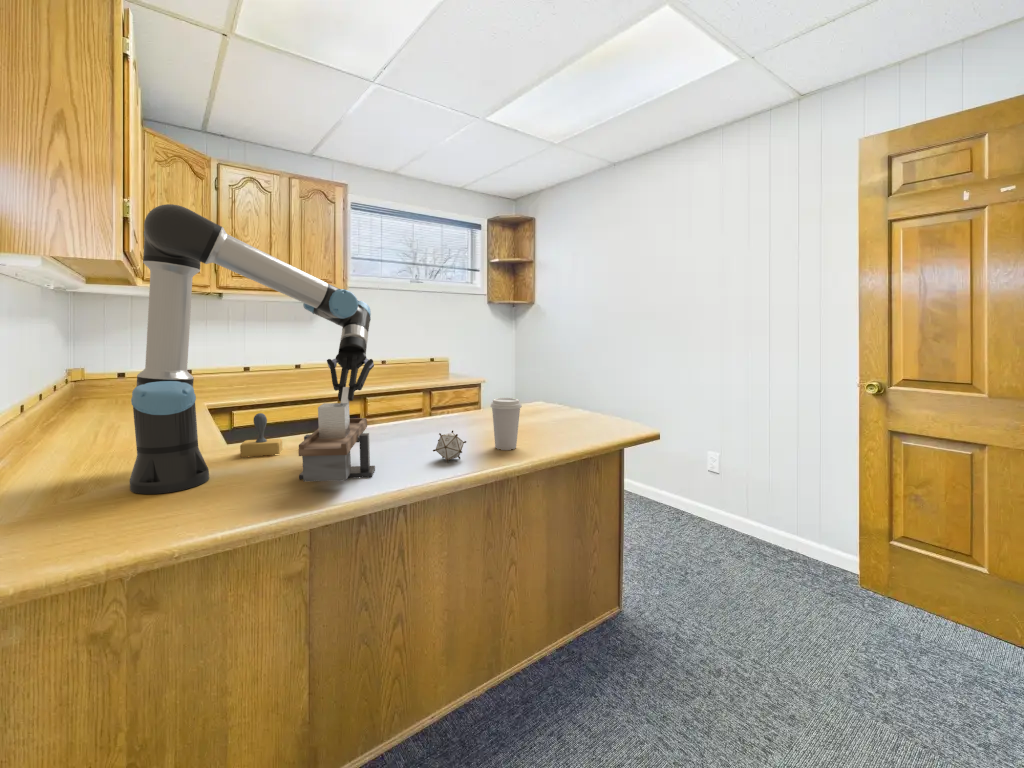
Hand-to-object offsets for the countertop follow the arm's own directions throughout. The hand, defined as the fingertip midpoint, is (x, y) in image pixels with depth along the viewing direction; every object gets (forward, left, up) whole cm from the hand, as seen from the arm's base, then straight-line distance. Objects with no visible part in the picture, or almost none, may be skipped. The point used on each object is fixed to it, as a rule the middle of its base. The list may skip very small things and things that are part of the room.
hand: (343, 409), depth 128 cm
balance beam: (+7, -6, -12) cm, 15 cm away
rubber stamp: (-27, -11, -15) cm, 33 cm away
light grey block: (+8, -7, -4) cm, 12 cm away
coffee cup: (+19, +43, -15) cm, 50 cm away
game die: (+17, +22, -15) cm, 32 cm away
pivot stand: (+7, -6, -15) cm, 18 cm away
